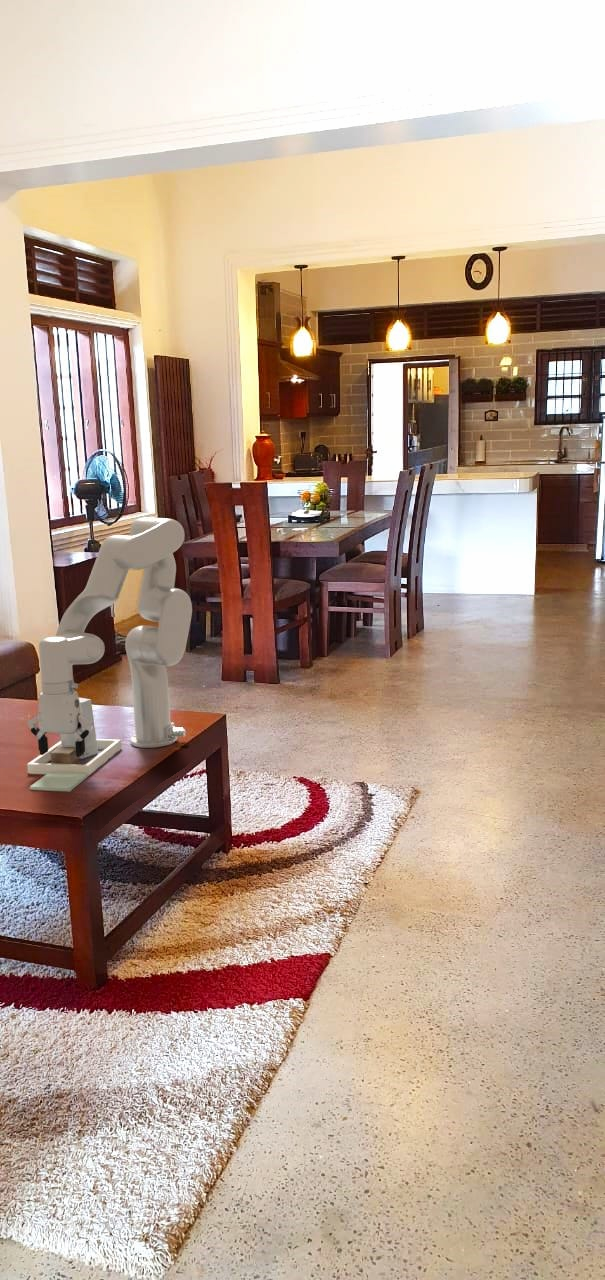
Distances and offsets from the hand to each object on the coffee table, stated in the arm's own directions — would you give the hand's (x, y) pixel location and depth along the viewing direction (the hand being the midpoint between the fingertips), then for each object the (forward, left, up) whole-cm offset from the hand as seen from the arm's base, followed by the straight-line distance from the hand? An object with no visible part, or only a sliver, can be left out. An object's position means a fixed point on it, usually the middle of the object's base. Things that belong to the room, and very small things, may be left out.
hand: (62, 754), depth 238 cm
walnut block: (0, -1, -4) cm, 4 cm away
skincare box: (+1, -12, -4) cm, 12 cm away
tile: (-3, +9, -4) cm, 11 cm away
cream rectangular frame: (0, -7, -4) cm, 8 cm away
